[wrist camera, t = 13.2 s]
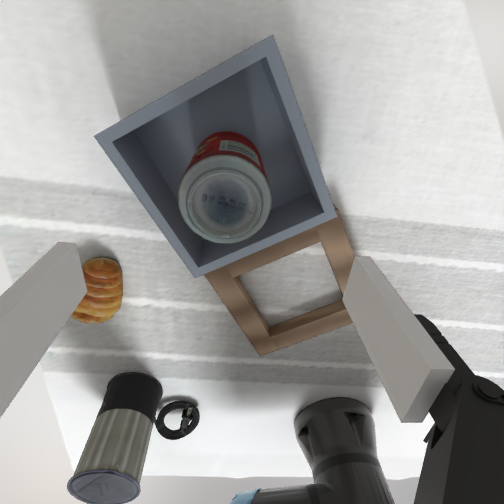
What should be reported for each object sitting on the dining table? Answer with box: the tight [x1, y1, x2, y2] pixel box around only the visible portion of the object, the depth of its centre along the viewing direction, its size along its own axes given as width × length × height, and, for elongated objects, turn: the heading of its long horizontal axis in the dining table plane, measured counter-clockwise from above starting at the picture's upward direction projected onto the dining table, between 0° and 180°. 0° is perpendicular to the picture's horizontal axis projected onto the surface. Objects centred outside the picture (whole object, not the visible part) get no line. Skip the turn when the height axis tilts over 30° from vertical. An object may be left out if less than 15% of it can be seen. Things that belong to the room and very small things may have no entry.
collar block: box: [204, 204, 355, 356], centre depth 41 cm, size 18×18×2 cm
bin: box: [94, 35, 337, 278], centre depth 30 cm, size 16×16×7 cm
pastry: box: [71, 257, 123, 323], centre depth 39 cm, size 9×7×4 cm
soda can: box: [178, 131, 272, 243], centre depth 27 cm, size 7×7×12 cm
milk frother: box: [67, 373, 200, 504], centre depth 47 cm, size 14×16×15 cm
